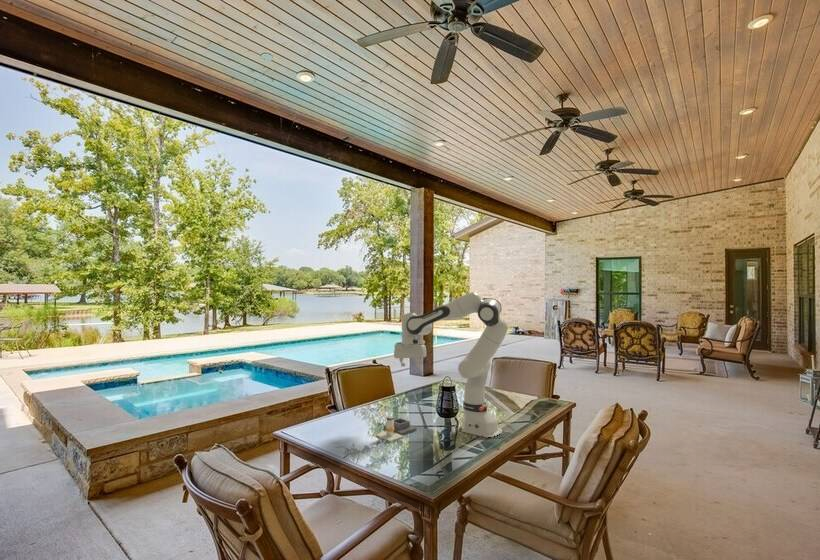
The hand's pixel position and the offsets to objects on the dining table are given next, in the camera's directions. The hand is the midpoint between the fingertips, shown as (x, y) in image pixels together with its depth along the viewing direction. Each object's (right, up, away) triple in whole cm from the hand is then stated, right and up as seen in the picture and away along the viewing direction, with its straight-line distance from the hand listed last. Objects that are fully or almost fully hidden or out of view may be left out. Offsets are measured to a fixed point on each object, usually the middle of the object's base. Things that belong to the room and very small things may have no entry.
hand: (410, 366), depth 227 cm
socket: (-5, -31, -13) cm, 34 cm away
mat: (-10, -31, -23) cm, 40 cm away
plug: (-10, -30, -23) cm, 39 cm away
